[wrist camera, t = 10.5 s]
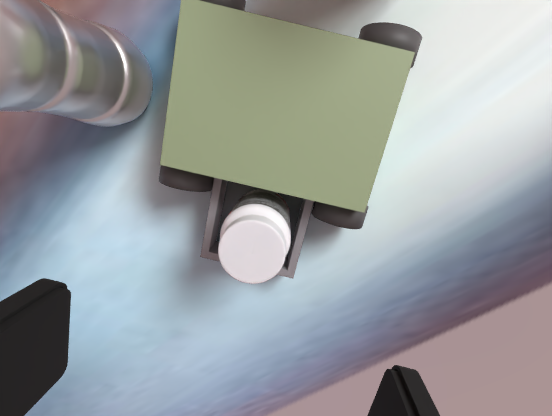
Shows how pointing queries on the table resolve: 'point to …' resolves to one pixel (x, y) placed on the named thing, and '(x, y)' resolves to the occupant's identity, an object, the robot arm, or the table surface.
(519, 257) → the table surface
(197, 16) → the cart
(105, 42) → the metal bottle
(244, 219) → the pill bottle
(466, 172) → the table surface
